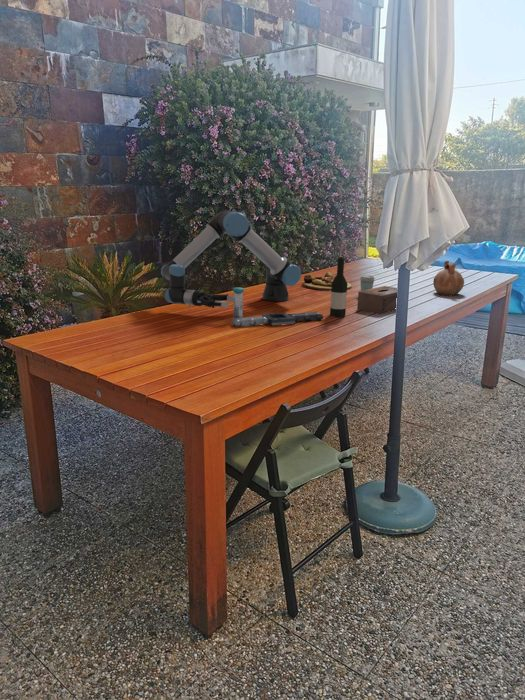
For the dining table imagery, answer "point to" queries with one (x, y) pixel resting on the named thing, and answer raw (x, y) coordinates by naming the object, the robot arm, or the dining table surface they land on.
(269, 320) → the chain ends
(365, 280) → the coffee cup
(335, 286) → the wine bottle
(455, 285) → the jug
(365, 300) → the tissue box cover
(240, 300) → the steel pin
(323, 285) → the wooden plate with food
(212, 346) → the dining table surface
